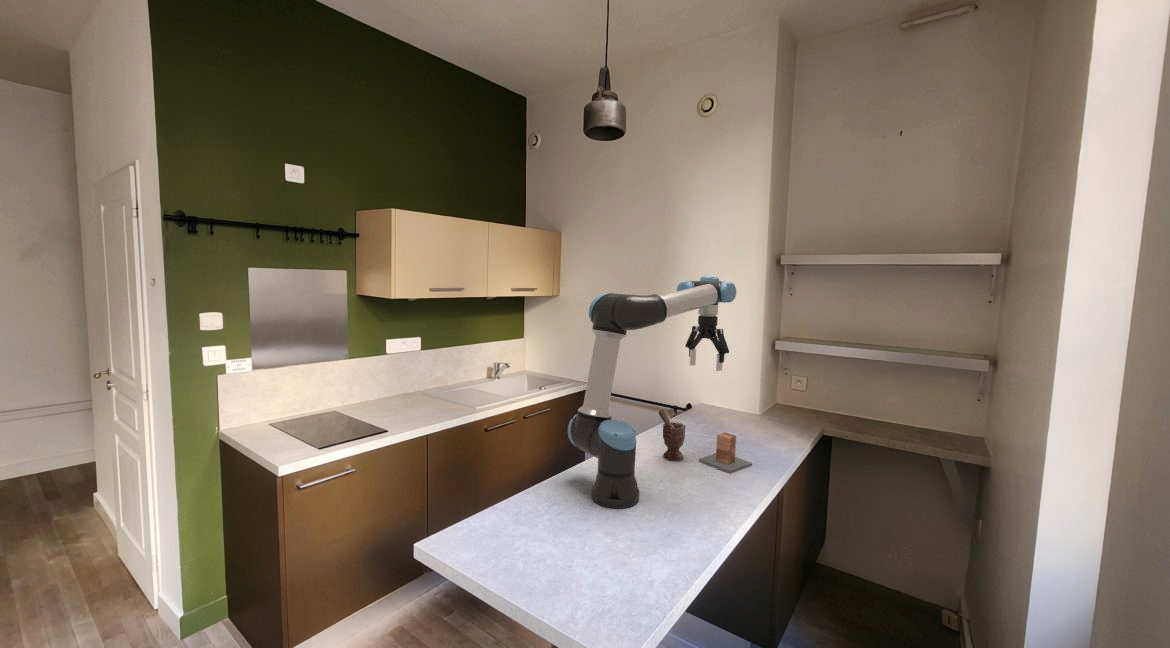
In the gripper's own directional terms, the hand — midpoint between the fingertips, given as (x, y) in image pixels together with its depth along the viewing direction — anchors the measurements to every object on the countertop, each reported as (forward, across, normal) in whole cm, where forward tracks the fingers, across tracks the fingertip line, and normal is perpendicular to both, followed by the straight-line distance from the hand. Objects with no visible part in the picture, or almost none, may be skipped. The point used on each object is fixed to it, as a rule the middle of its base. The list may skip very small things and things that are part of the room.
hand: (705, 367), depth 189 cm
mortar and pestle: (+35, +1, +17) cm, 39 cm away
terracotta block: (+34, -14, +2) cm, 36 cm away
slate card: (+35, -14, +2) cm, 37 cm away
